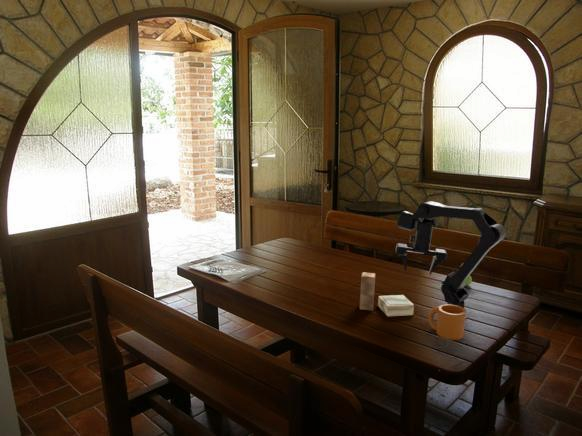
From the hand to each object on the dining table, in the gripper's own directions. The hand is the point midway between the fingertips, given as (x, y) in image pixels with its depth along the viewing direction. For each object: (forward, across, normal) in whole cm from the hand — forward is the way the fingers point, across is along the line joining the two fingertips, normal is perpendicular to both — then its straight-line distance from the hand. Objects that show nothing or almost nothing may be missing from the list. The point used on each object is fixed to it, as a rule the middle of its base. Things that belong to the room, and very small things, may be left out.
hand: (417, 272), depth 183 cm
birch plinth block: (+13, +7, +9) cm, 17 cm away
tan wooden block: (+14, +17, +9) cm, 24 cm away
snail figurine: (+13, -24, -27) cm, 39 cm away
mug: (+12, -10, +24) cm, 28 cm away
